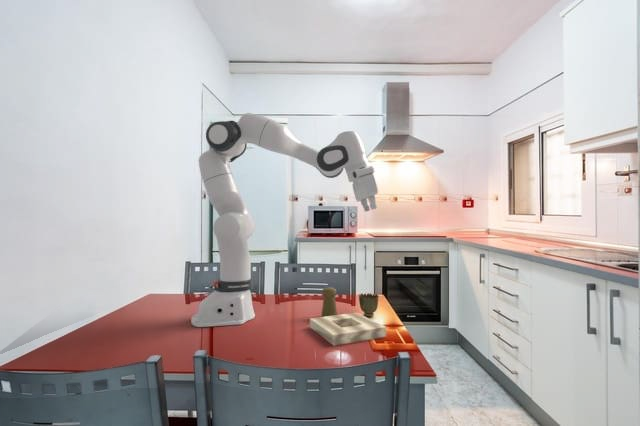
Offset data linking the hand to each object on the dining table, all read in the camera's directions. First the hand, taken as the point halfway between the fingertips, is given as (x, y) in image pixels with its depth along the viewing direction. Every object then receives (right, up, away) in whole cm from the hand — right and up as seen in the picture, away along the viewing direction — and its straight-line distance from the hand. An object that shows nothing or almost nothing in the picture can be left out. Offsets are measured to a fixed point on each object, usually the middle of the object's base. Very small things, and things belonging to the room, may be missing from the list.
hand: (370, 210), depth 122 cm
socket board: (-10, -39, -14) cm, 43 cm away
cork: (-15, -40, +2) cm, 43 cm away
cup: (0, -40, +3) cm, 40 cm away
